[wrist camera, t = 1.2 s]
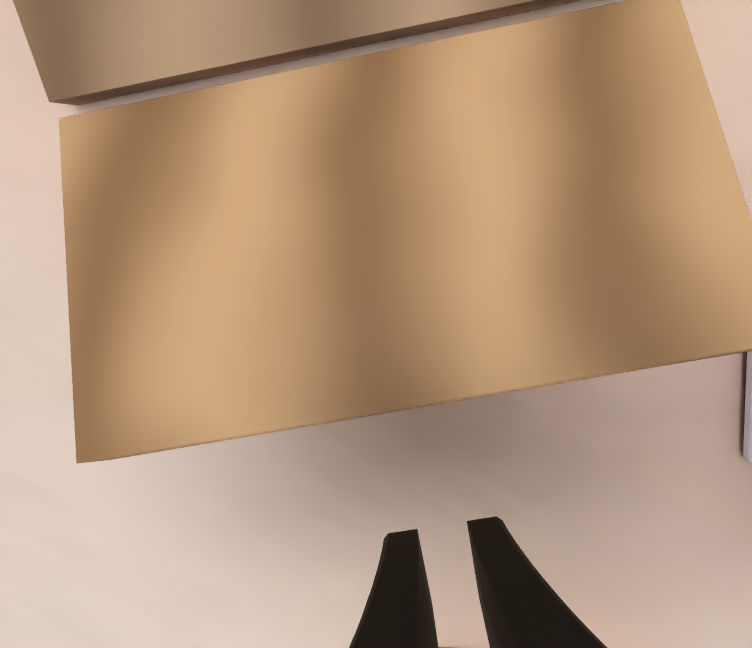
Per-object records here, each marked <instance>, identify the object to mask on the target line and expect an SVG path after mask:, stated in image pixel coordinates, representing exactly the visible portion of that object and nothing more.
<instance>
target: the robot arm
mask: <svg viewBox="0 0 752 648" xmlns="http://www.w3.org/2000/svg"><path fill="white" fill-rule="evenodd" d="M743 454H744V457H745V458H746V460H747V461H749V462H750V463H751V464H752V351H748V352H747V371H746V397H745V423H744V449H743ZM467 525H468V531H469V537H470V543H471V550H472V556H473V562H474V568H475V574H476V581H477V587H478V593H479V599H480V604H481V608H482V613H483V617H484V622H485V627H486V631H487V636H488V640H489V645H490V648H607V647H606V646H605V645H604V644H603V643H602V642H601V641H600V640H599V639H598V638H597V637H596V636H595V635H594V634H593V633H592V632H591V631H590V630H589V629H588V628H587V627H586V626H585V625H584V624H583V622H582V621H581V620H580V619H579V618H578V617H577V616H576V615H575V614H574V613H573V612H572V611H571V610H570V609H569V607H568V606H567V605H566V604H565V603H564V602H563V601H562V600H561V599H560V597H559V596H558V595H557V594H556V593H555V591H554V590H553V589H552V588H551V587H550V585H549V584H548V583H547V582H546V581H545V580H544V578H543V577H542V576H541V575H540V574H539V572H538V571H537V570H536V569H535V567H534V566H533V565H532V563H531V562H530V561H529V559H528V558H527V557H526V555H525V554H524V553H523V551H522V550H521V549H520V547H519V546H518V544H517V543H516V542H515V540H514V539H513V537H512V536H511V534H510V533H509V531H508V529H507V528H506V526H505V524H504V523H503V521H502V520H501V519H499V518H498V517H497V516H496V517H490V518H483V519H477V520H471V521H467ZM349 648H438V642H437V635H436V628H435V621H434V614H433V607H432V601H431V596H430V591H429V586H428V581H427V576H426V571H425V566H424V561H423V556H422V551H421V546H420V541H419V535H418V530H417V529H414V530H407V531H401V532H394V533H388V535H387V536H386V537H385V538H384V542H383V548H382V553H381V557H380V561H379V565H378V569H377V572H376V576H375V579H374V582H373V586H372V589H371V592H370V595H369V597H368V600H367V603H366V606H365V609H364V612H363V615H362V617H361V620H360V623H359V625H358V628H357V630H356V633H355V635H354V638H353V640H352V642H351V645H350V647H349Z"/></svg>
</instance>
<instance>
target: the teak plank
mask: <svg viewBox="0 0 752 648" xmlns="http://www.w3.org/2000/svg"><path fill="white" fill-rule="evenodd" d="M59 129H60V148H61V168H62V187H63V207H64V226H65V246H66V265H67V284H68V304H69V323H70V343H71V362H72V382H73V401H74V421H75V440H76V460H77V463H85V462H95V461H104V460H112V459H118V458H124V457H130V456H135V455H141V454H147V453H153V452H159V451H165V450H171V449H177V448H183V447H188V446H194V445H200V444H206V443H212V442H218V441H224V440H230V439H235V438H241V437H247V436H253V435H259V434H265V433H271V432H277V431H283V430H288V429H294V428H300V427H306V426H312V425H318V424H324V423H330V422H336V421H341V420H347V419H353V418H359V417H365V416H371V415H377V414H383V413H389V412H394V411H400V410H406V409H412V408H418V407H424V406H430V405H436V404H441V403H447V402H453V401H459V400H465V399H471V398H477V397H483V396H489V395H494V394H500V393H506V392H512V391H518V390H524V389H530V388H536V387H542V386H547V385H553V384H559V383H565V382H571V381H577V380H583V379H589V378H595V377H600V376H606V375H612V374H618V373H624V372H630V371H636V370H642V369H647V368H653V367H659V366H665V365H671V364H677V363H683V362H689V361H695V360H700V359H706V358H712V357H718V356H724V355H730V354H736V353H742V352H748V351H752V221H751V218H750V215H749V212H748V209H747V206H746V202H745V199H744V196H743V193H742V190H741V187H740V184H739V181H738V178H737V175H736V172H735V168H734V165H733V162H732V159H731V156H730V153H729V150H728V147H727V144H726V141H725V138H724V134H723V131H722V128H721V125H720V122H719V119H718V116H717V113H716V110H715V107H714V104H713V100H712V97H711V94H710V91H709V88H708V85H707V82H706V79H705V76H704V73H703V69H702V66H701V63H700V60H699V57H698V54H697V51H696V48H695V45H694V42H693V39H692V35H691V32H690V29H689V26H688V23H687V20H686V17H685V14H684V11H683V8H682V5H681V1H680V0H628V1H624V2H619V3H614V4H609V5H604V6H599V7H595V8H590V9H585V10H580V11H575V12H571V13H566V14H561V15H556V16H551V17H546V18H542V19H537V20H532V21H527V22H522V23H518V24H513V25H508V26H503V27H498V28H493V29H489V30H484V31H479V32H474V33H469V34H464V35H460V36H455V37H450V38H445V39H440V40H436V41H431V42H426V43H421V44H416V45H411V46H407V47H402V48H397V49H392V50H387V51H382V52H378V53H373V54H368V55H363V56H358V57H354V58H349V59H344V60H339V61H334V62H329V63H325V64H320V65H315V66H310V67H305V68H301V69H296V70H291V71H286V72H281V73H276V74H272V75H267V76H262V77H257V78H252V79H247V80H243V81H238V82H233V83H228V84H223V85H219V86H214V87H209V88H204V89H199V90H194V91H190V92H185V93H180V94H175V95H170V96H165V97H161V98H156V99H151V100H146V101H141V102H137V103H132V104H127V105H122V106H117V107H112V108H108V109H103V110H98V111H93V112H88V113H84V114H79V115H74V116H69V117H64V118H59Z"/></svg>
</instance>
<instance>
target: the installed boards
mask: <svg viewBox="0 0 752 648" xmlns="http://www.w3.org/2000/svg"><path fill="white" fill-rule="evenodd" d="M13 1H14V4H15V7H16V10H17V13H18V15H19V18H20V21H21V24H22V27H23V29H24V32H25V35H26V38H27V41H28V43H29V46H30V49H31V52H32V55H33V57H34V60H35V63H36V66H37V69H38V71H39V74H40V77H41V80H42V83H43V86H44V88H45V91H46V94H47V97H48V100H49V102H54V103H62V104H71V105H80V104H85V103H89V102H94V101H99V100H104V99H109V98H113V97H118V96H123V95H128V94H133V93H137V92H142V91H147V90H152V89H157V88H161V87H166V86H171V85H176V84H181V83H185V82H190V81H195V80H200V79H204V78H209V77H214V76H219V75H224V74H228V73H233V72H238V71H243V70H248V69H252V68H257V67H262V66H267V65H272V64H276V63H281V62H286V61H291V60H296V59H300V58H305V57H310V56H315V55H320V54H324V53H329V52H334V51H339V50H344V49H348V48H353V47H358V46H363V45H368V44H372V43H377V42H382V41H387V40H392V39H396V38H401V37H406V36H411V35H416V34H420V33H425V32H430V31H435V30H440V29H444V28H449V27H454V26H459V25H464V24H468V23H473V22H478V21H483V20H488V19H492V18H497V17H502V16H507V15H512V14H516V13H521V12H526V11H531V10H536V9H540V8H545V7H550V6H555V5H560V4H564V3H569V2H574V1H579V0H13Z"/></svg>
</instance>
